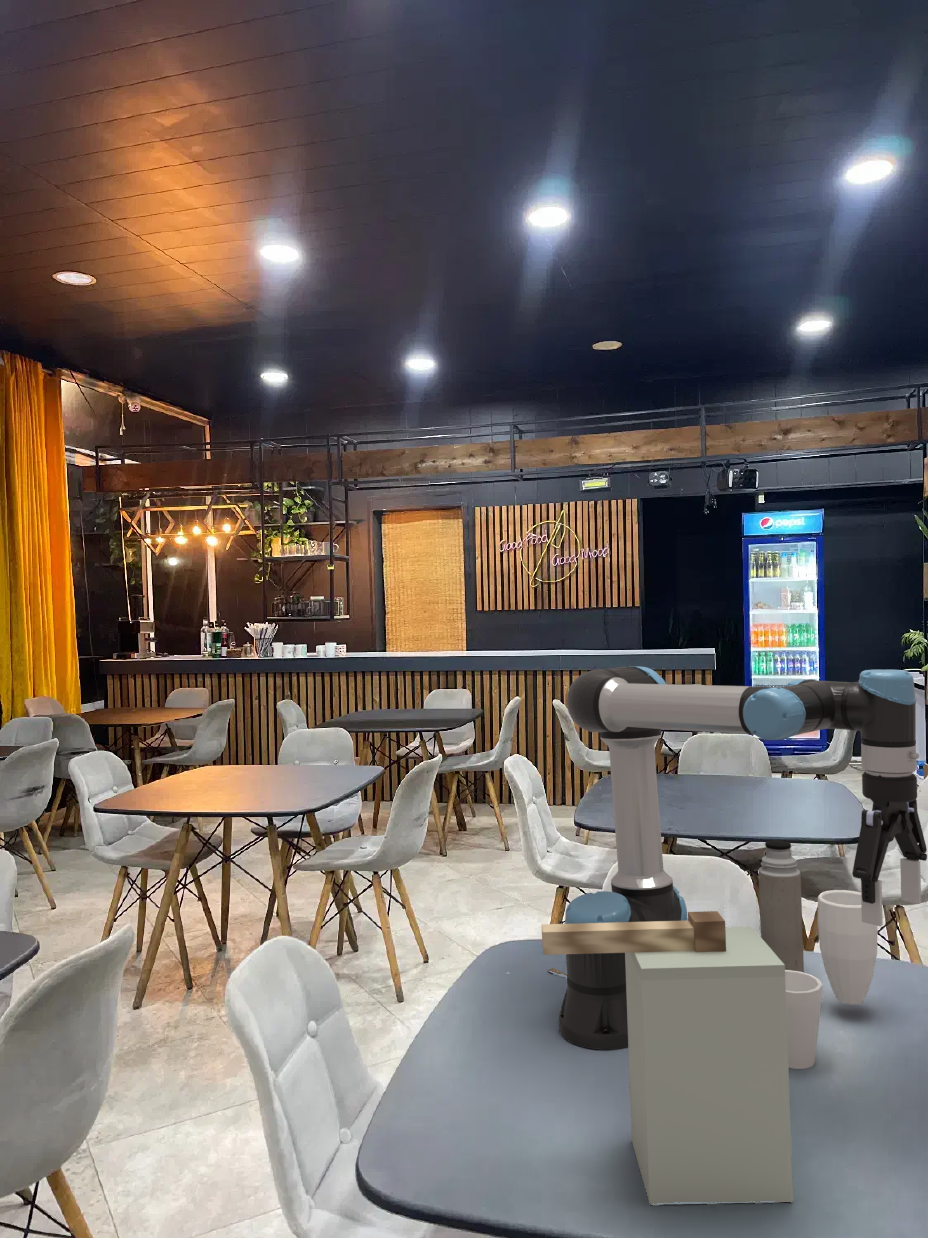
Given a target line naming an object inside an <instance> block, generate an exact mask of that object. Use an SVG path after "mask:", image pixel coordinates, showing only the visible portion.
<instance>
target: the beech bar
mask: <svg viewBox="0 0 928 1238" xmlns="http://www.w3.org/2000/svg"><path fill="white" fill-rule="evenodd" d="M687 918H688V921H652V922H616V923H579V924H565V923H552V924H551V923H548V924H547V923H546V924H545V923H544V924H543V923H542V924H541V947H542V948H541V949H542V953H543V955H544V956H545V955H547V956H549V955H553V956H554V955H555V956H556V955H566V954H593V953H631V952H668V951H695V952H723V951H726V931H725V927H726V921H725V919H724V918H723V916H722V915H721V914H720V913H719V911H718V910H714V911H713V910H711V911H710V910H707V911H705V910H704V911H687Z"/></svg>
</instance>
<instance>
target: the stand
mask: <svg viewBox="0 0 928 1238" xmlns="http://www.w3.org/2000/svg"><path fill="white" fill-rule="evenodd" d="M725 931H726V951H723V952H695V951H668V952H631V953H625V965H626V993H627V1021H628V1046H627V1047H628V1049H627V1050H628V1070H629V1071H628V1072H629V1074H628V1075H629V1100H630V1101H629V1102H630V1105H629V1106H630V1126H631V1127H630V1128H631V1143H632V1146H633V1147H632V1148H633V1151H634V1153H635V1157H636V1161H637V1165H638V1167H639V1172H640V1174H641V1175H642V1176H641V1179H642V1178H643V1179H642V1183H643V1182H644V1183H643V1186H644V1185H645V1186H644V1189H645V1188H646V1190H645V1193H646V1192H647V1194H646V1196H648V1197H647V1200H648V1199H649V1201H648V1203H650V1204H653V1203H654V1204H657V1203H665V1202H666V1203H674V1202H679V1203H680V1202H709V1203H710V1202H713V1203H714V1202H717V1203H718V1202H720V1203H721V1202H747V1201H748V1202H750V1201H752V1202H753V1201H755V1202H760V1201H775V1202H791V1203H790V1204H793V1203H794V1191H793V1190H794V1188H793V1183H794V1182H793V1160H792V1159H793V1158H792V1156H793V1154H792V1133H791V1131H792V1128H791V1105H790V1077H789V1075H790V1073H789V1071H790V1069H789V1068H788V1042H787V1014H786V986H785V965H784V964H783V962H782V961H781V960H780V959H779V958H778V957H777V955H776V954H775V953H774V952H773V951H772V950H771V948H770V947H769V946H768V945H767V944H766V943H765V941H764V940H763V939H762V938H761V935H760V934H759V933H758V932H757V930H755V928H754V927H753V926H729V927H728V926H725ZM650 1204H649V1205H650Z"/></svg>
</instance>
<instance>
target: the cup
mask: <svg viewBox="0 0 928 1238" xmlns="http://www.w3.org/2000/svg"><path fill="white" fill-rule="evenodd" d="M878 929H879V928H878V926H876V925H872V924H868V923H864V922H862V911H861V891H860V892H859V891H857V890H855V891H854V890H845V889H833V890H831V889H830V890H826V891H823V892H821V893H820V894H819V895H818V896H817V931H818V942H819V950H820V954H821V958H822V962H823V966H824V967H823V968H824V971H825V973H826V977H827V980H828V981H829V984H830V987H831V989H832V992H833V994H834V996H835V998H836V999H837V1000H838V1002H840V1003H842V1004H846V1005H852V1006H853V1005H862V1004H863V1003H864V1000H865V999H866V997H867V995H868V993H869V990H870V986H871V984H872V980H873V977H874V973H875V972H874V971H875V966H876V960H877V956H878V931H879V930H878Z"/></svg>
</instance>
